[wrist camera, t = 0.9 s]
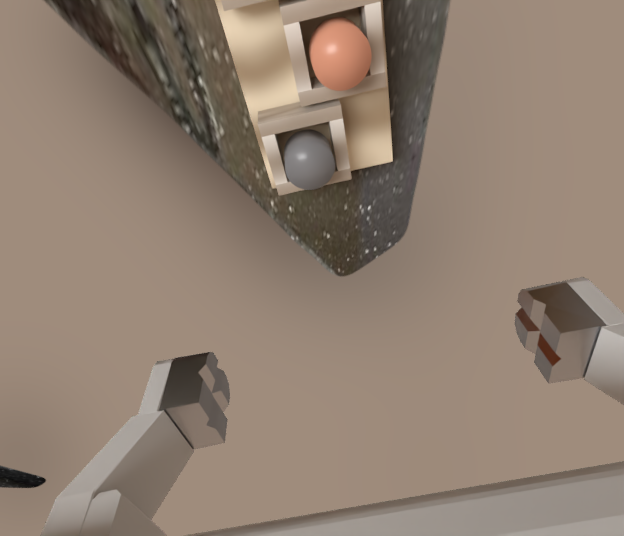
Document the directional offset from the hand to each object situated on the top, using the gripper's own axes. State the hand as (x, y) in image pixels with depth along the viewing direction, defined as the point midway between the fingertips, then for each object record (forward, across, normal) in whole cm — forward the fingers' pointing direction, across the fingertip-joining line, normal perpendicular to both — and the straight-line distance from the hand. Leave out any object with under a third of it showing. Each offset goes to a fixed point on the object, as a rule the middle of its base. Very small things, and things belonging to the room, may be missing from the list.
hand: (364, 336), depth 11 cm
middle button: (+28, -3, -2) cm, 28 cm away
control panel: (+35, -1, -3) cm, 35 cm away
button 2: (+29, +1, +6) cm, 29 cm away
